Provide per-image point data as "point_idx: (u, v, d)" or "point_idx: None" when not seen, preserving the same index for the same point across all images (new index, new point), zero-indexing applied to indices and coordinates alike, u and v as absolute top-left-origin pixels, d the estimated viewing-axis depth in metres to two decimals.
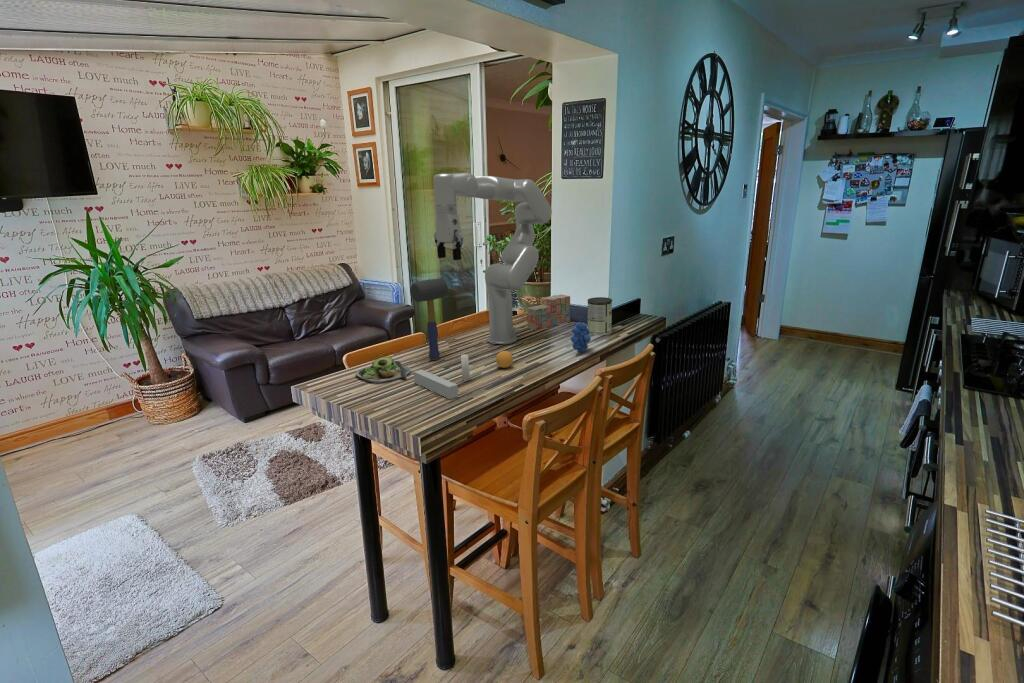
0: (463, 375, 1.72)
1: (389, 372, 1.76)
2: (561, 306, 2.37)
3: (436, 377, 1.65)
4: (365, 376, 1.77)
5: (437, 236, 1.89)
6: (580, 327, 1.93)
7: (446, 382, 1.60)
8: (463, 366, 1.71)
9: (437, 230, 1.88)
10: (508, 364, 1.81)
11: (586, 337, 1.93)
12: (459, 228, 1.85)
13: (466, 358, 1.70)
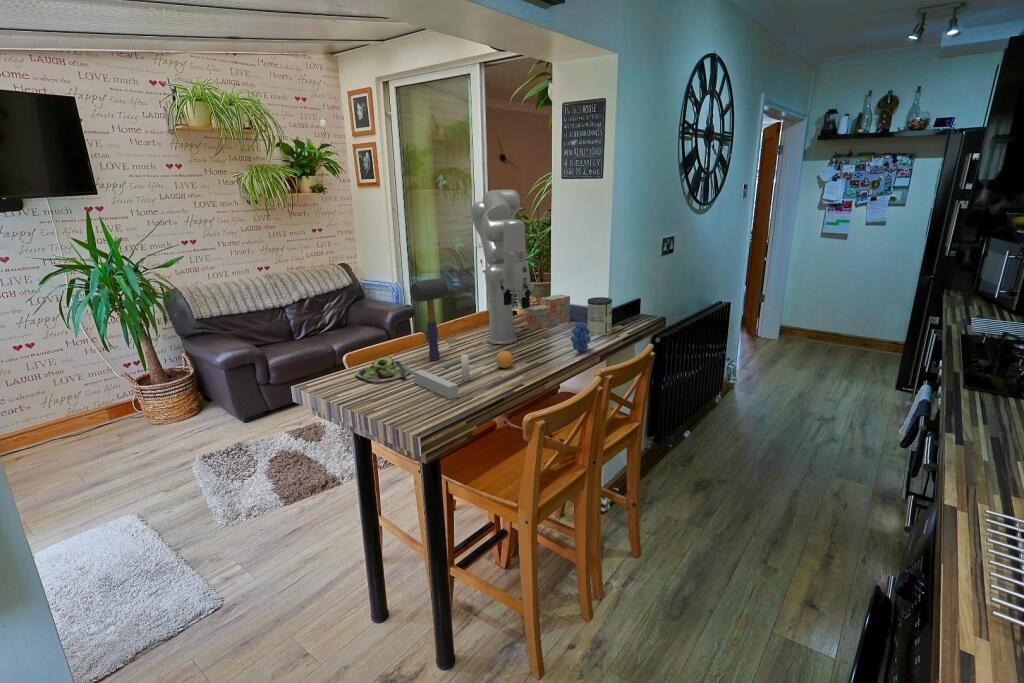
0: (463, 375, 1.72)
1: (389, 372, 1.76)
2: (561, 306, 2.37)
3: (436, 377, 1.65)
4: (365, 376, 1.77)
5: (504, 283, 1.84)
6: (580, 327, 1.93)
7: (446, 382, 1.60)
8: (463, 366, 1.71)
9: (504, 277, 1.83)
10: (508, 364, 1.81)
11: (586, 337, 1.93)
12: (528, 276, 1.79)
13: (466, 358, 1.70)
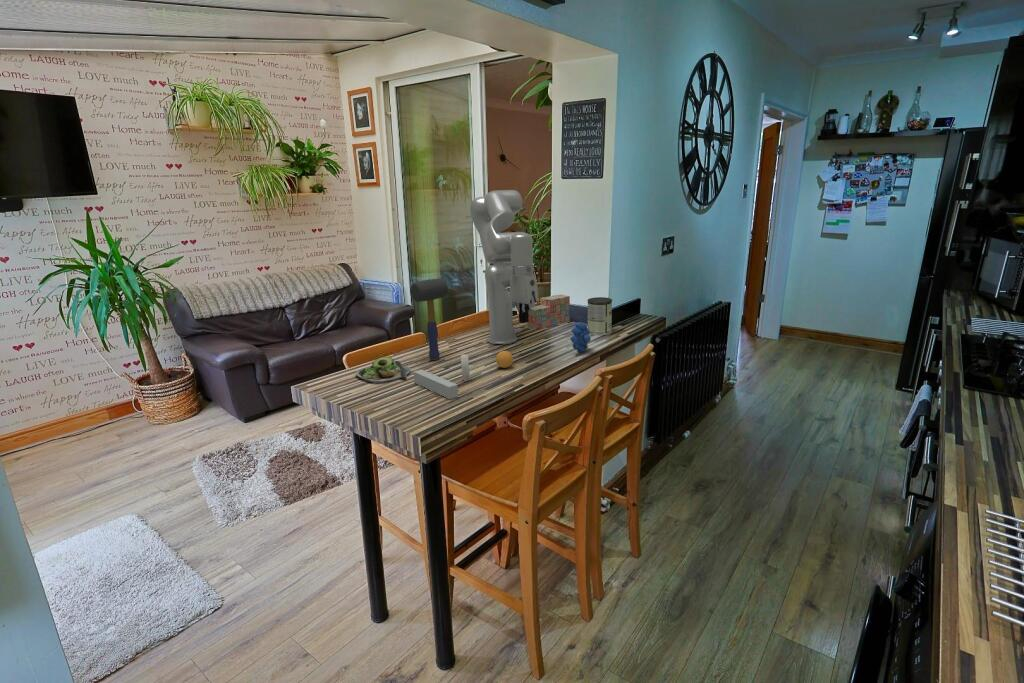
0: (463, 375, 1.72)
1: (389, 372, 1.76)
2: (561, 306, 2.37)
3: (436, 377, 1.65)
4: (365, 376, 1.77)
5: (511, 296, 1.84)
6: (580, 327, 1.93)
7: (446, 382, 1.60)
8: (463, 366, 1.71)
9: (512, 290, 1.83)
10: (508, 364, 1.81)
11: (586, 337, 1.93)
12: (536, 289, 1.80)
13: (466, 358, 1.70)
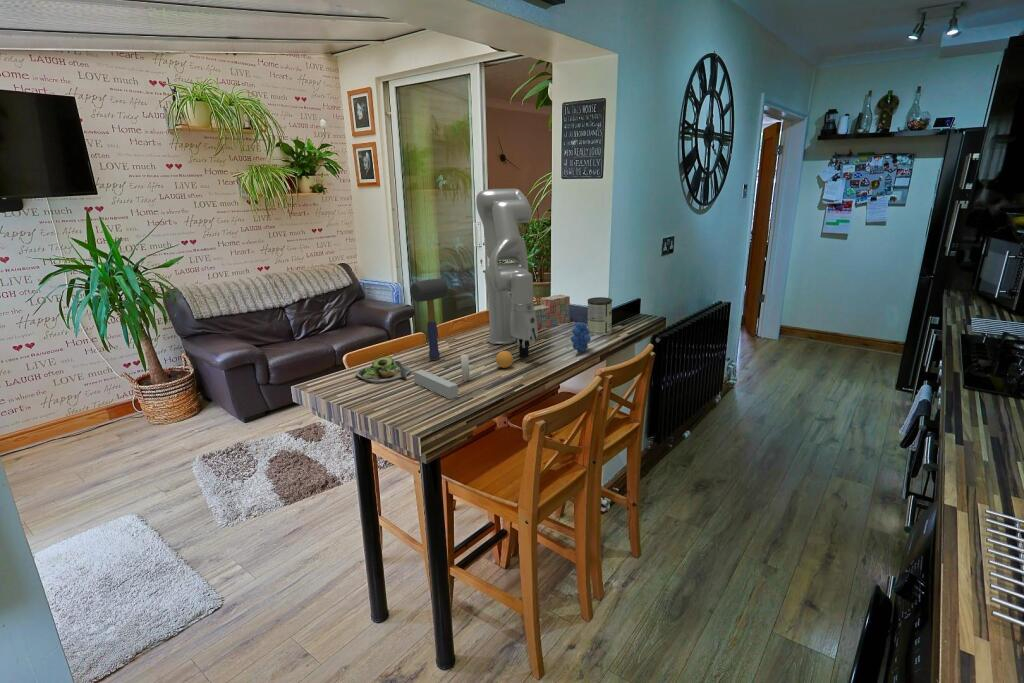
0: (463, 375, 1.72)
1: (389, 372, 1.76)
2: (561, 306, 2.37)
3: (436, 377, 1.65)
4: (365, 376, 1.77)
5: (512, 332, 1.88)
6: (580, 327, 1.93)
7: (446, 382, 1.60)
8: (463, 366, 1.71)
9: (512, 326, 1.87)
10: (508, 364, 1.81)
11: (586, 337, 1.93)
12: (536, 326, 1.83)
13: (466, 358, 1.70)
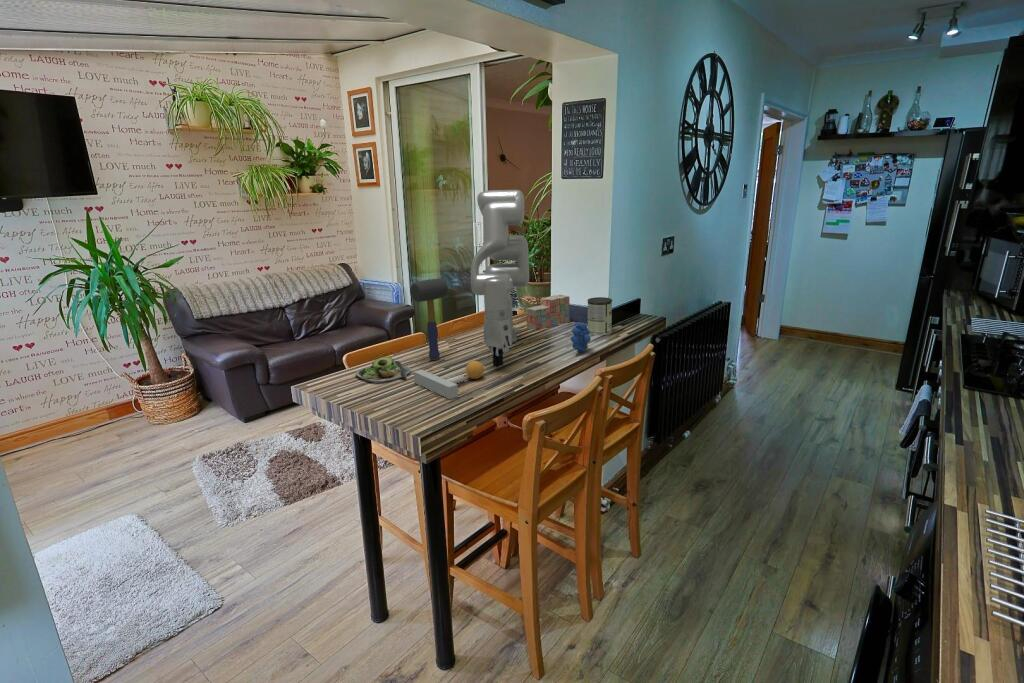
0: None
1: (389, 372, 1.76)
2: (560, 306, 2.37)
3: (436, 377, 1.65)
4: (365, 376, 1.77)
5: (485, 339, 1.80)
6: (580, 327, 1.93)
7: (446, 382, 1.60)
8: None
9: (485, 333, 1.79)
10: (478, 370, 1.71)
11: (586, 337, 1.93)
12: (510, 333, 1.76)
13: None
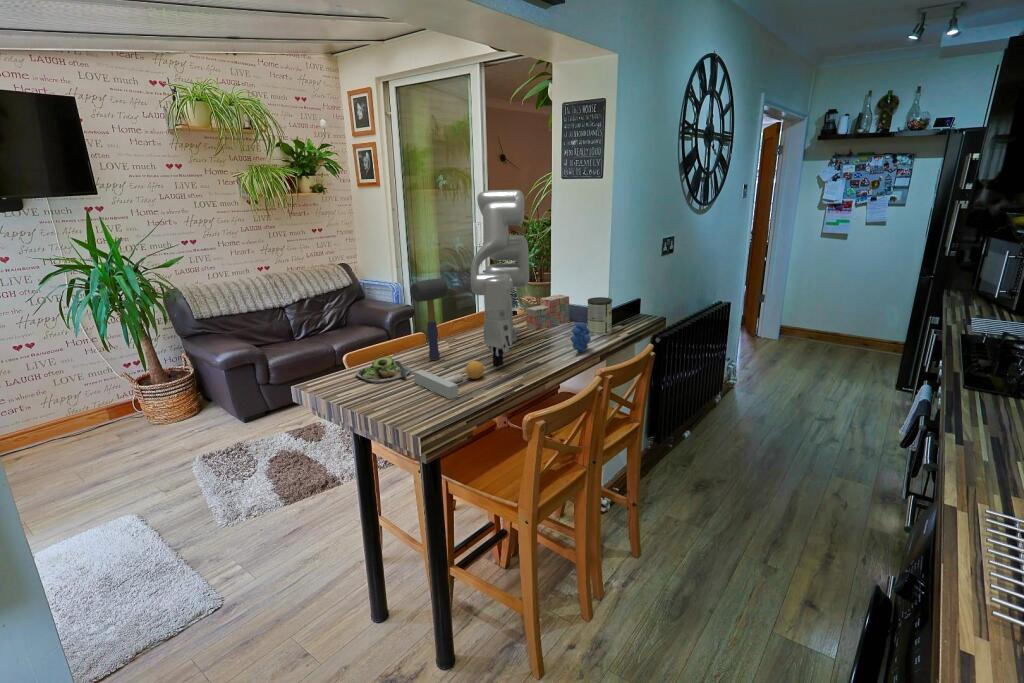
0: (458, 380, 1.71)
1: (389, 372, 1.76)
2: (560, 306, 2.37)
3: (436, 377, 1.65)
4: (365, 376, 1.77)
5: (485, 339, 1.80)
6: (580, 327, 1.93)
7: (446, 382, 1.60)
8: None
9: (485, 333, 1.79)
10: (478, 370, 1.71)
11: (586, 337, 1.93)
12: (510, 333, 1.76)
13: None
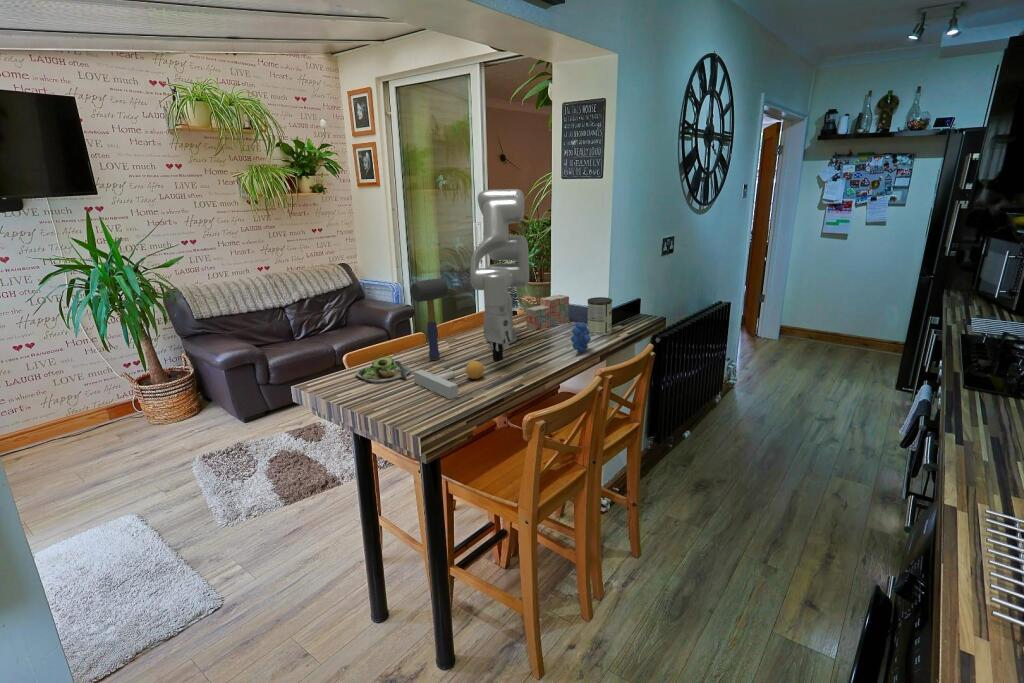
0: None
1: (389, 372, 1.76)
2: (560, 306, 2.37)
3: (436, 377, 1.65)
4: (365, 376, 1.77)
5: (485, 334, 1.80)
6: (580, 327, 1.93)
7: (446, 382, 1.60)
8: None
9: (485, 328, 1.79)
10: (478, 370, 1.71)
11: (586, 337, 1.93)
12: (510, 328, 1.76)
13: None
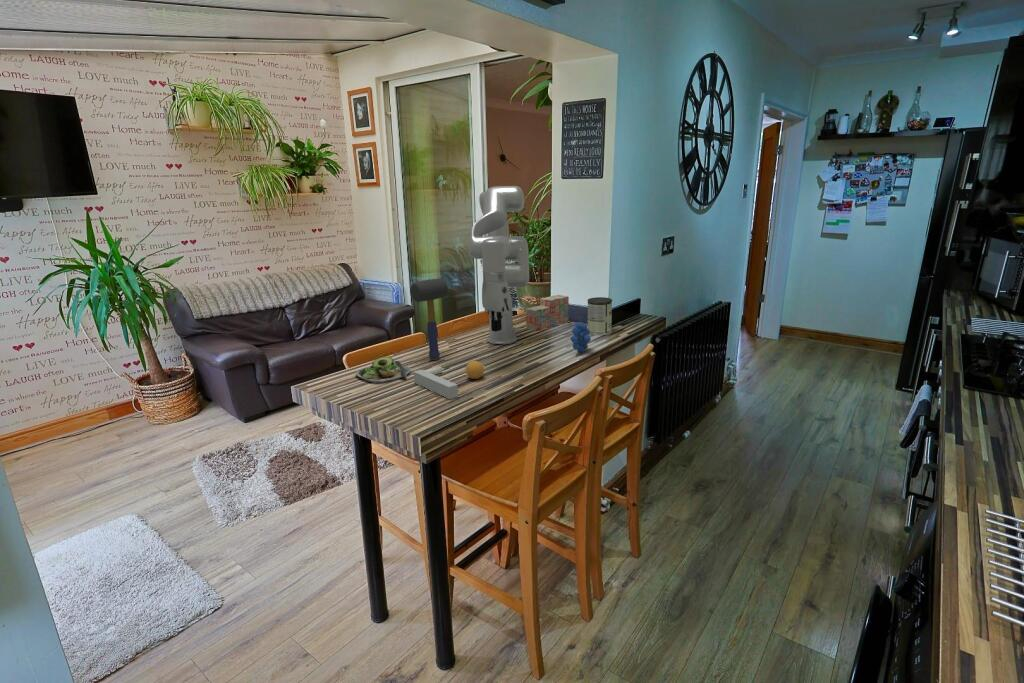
0: None
1: (389, 372, 1.76)
2: (560, 306, 2.37)
3: (436, 377, 1.65)
4: (365, 376, 1.77)
5: (483, 303, 1.77)
6: (580, 327, 1.93)
7: (446, 382, 1.60)
8: None
9: (484, 297, 1.75)
10: (478, 370, 1.71)
11: (586, 337, 1.93)
12: (508, 296, 1.72)
13: None
